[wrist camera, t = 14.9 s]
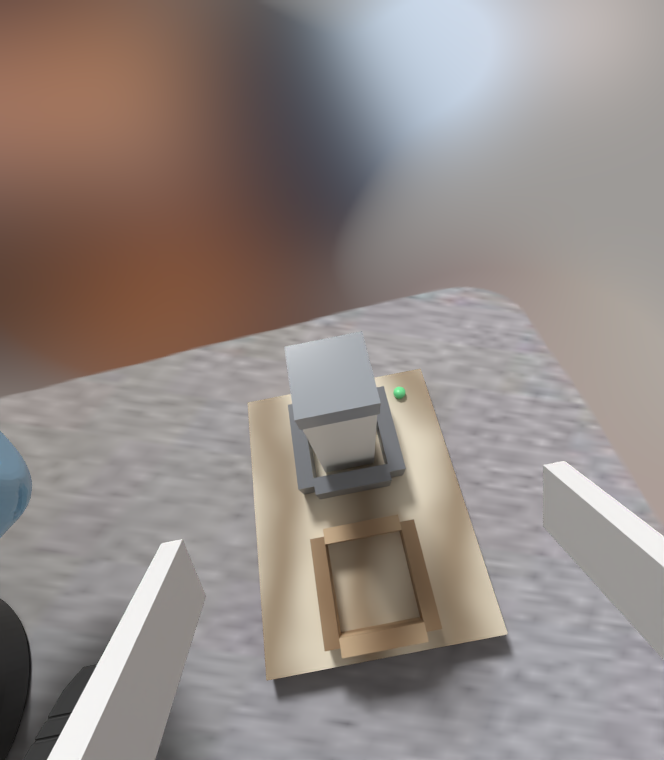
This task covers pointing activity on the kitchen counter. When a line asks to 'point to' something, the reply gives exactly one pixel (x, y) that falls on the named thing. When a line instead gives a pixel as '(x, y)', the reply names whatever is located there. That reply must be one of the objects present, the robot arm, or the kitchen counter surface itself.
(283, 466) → the board
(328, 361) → the plug
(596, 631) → the kitchen counter surface
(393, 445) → the port
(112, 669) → the robot arm
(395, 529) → the holster
